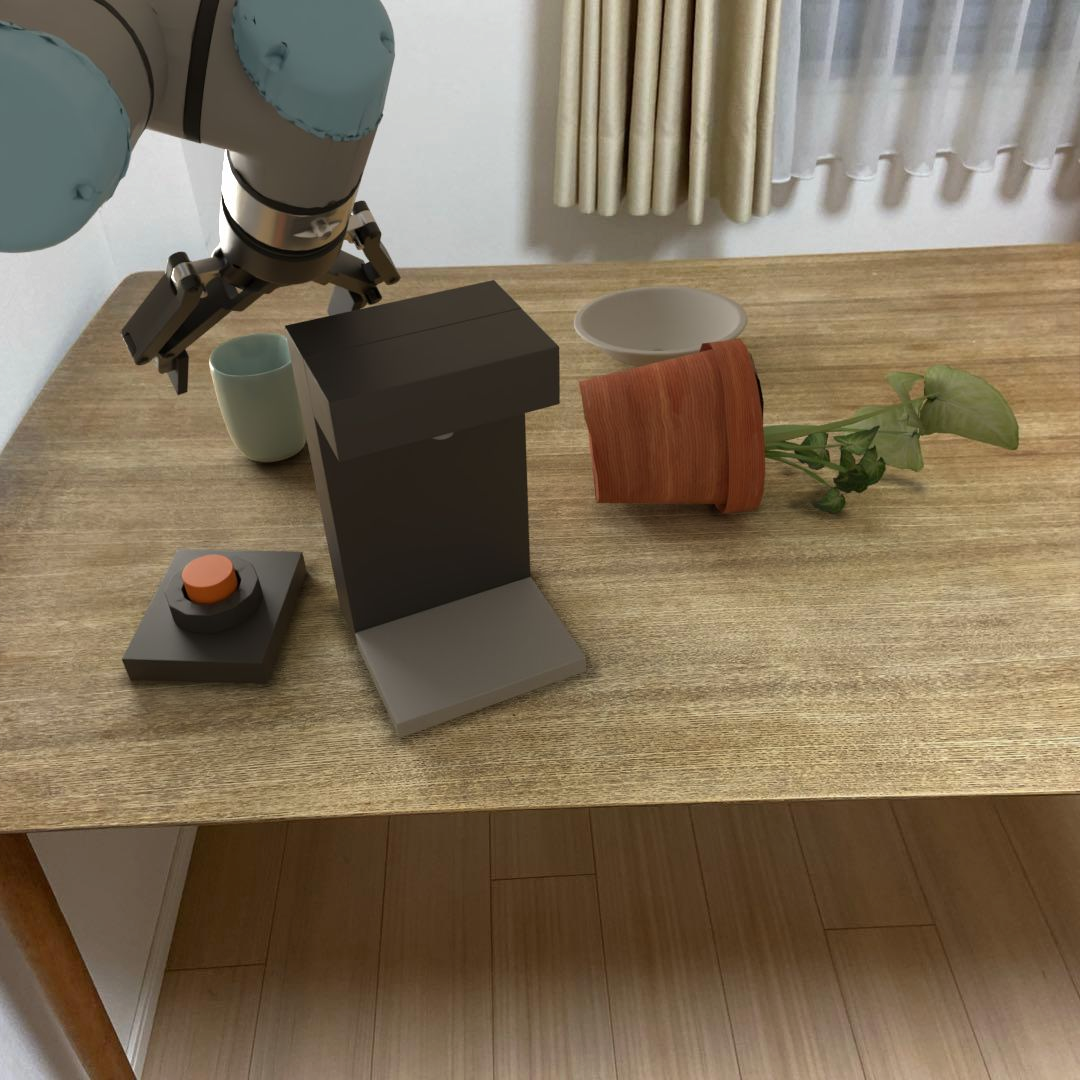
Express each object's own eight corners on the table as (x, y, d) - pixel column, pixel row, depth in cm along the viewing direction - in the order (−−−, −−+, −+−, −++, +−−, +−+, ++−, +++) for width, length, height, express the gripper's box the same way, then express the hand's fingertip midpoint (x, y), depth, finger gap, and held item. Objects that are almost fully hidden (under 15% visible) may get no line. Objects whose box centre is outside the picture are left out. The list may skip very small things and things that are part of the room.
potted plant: (601, 577, 83) (1034, 527, 82) (586, 413, 74) (1073, 355, 73) (584, 473, 95) (960, 429, 94) (570, 322, 86) (985, 272, 85)
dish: (716, 320, 112) (720, 278, 109) (763, 387, 101) (769, 342, 98) (560, 338, 110) (560, 295, 107) (591, 408, 99) (592, 363, 96)
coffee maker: (586, 671, 72) (591, 377, 57) (399, 739, 68) (349, 440, 53) (508, 556, 82) (494, 279, 67) (340, 609, 78) (283, 325, 62)
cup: (310, 420, 98) (292, 326, 92) (323, 463, 93) (305, 367, 86) (228, 435, 97) (204, 341, 90) (236, 481, 91) (211, 383, 84)
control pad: (129, 680, 72) (113, 641, 70) (184, 569, 82) (171, 531, 79) (267, 684, 72) (256, 645, 69) (307, 572, 81) (298, 533, 79)
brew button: (180, 604, 73) (174, 586, 72) (196, 571, 76) (190, 553, 75) (229, 605, 73) (224, 587, 72) (243, 572, 76) (239, 554, 75)
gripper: (104, 316, 55) (121, 447, 74) (493, 201, 65) (419, 343, 85) (46, 197, 56) (78, 358, 75) (441, 101, 66) (380, 265, 85)
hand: (259, 350), depth 80 cm, fingers open, 13 cm apart
